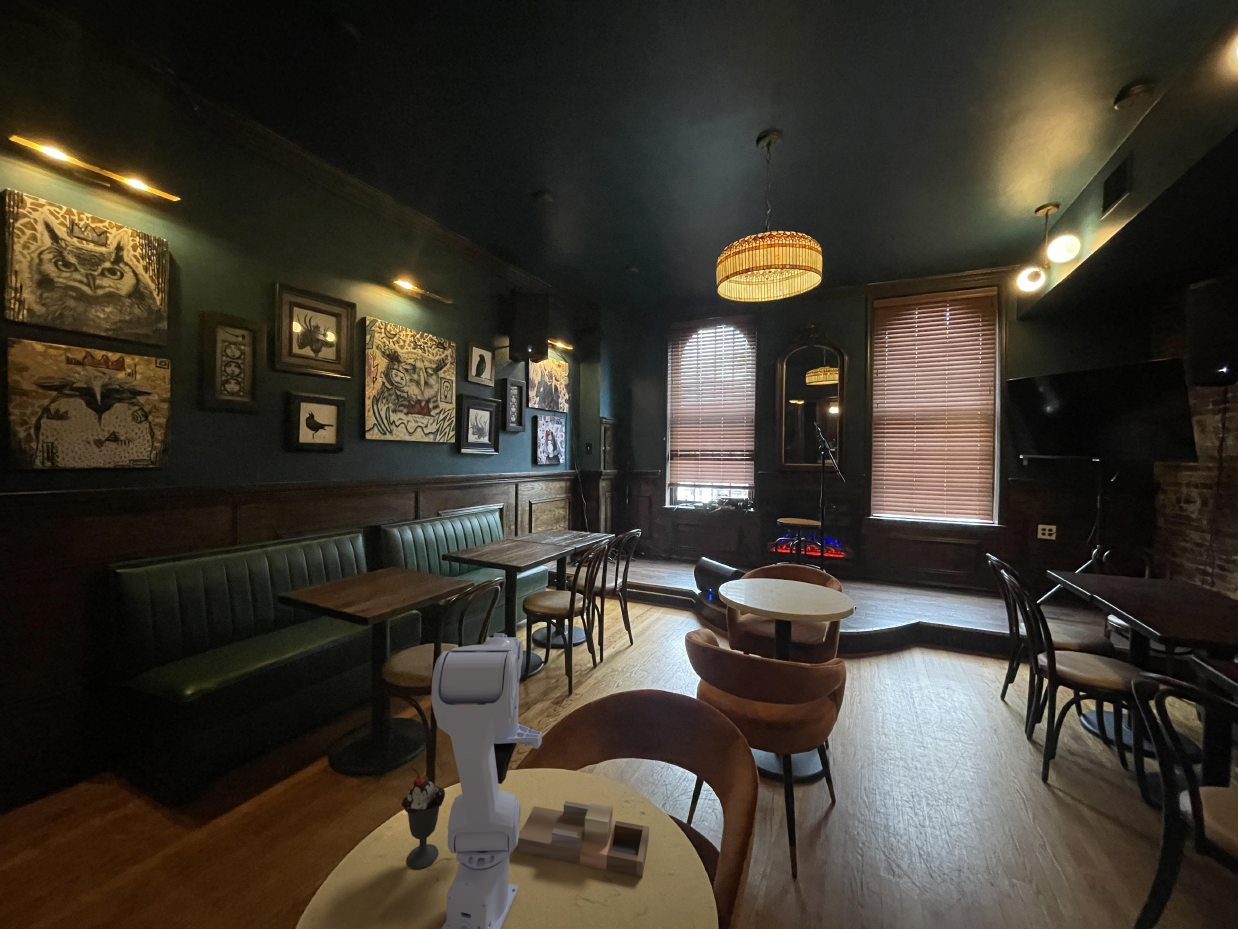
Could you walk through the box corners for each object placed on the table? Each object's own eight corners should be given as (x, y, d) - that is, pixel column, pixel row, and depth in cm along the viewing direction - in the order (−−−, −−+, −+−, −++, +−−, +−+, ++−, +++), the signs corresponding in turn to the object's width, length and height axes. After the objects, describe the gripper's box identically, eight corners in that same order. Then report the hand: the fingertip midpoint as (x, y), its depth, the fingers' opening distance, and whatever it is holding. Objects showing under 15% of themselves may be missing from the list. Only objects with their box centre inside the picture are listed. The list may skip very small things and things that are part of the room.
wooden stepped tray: (642, 877, 79) (643, 850, 79) (517, 852, 83) (518, 826, 83) (648, 840, 87) (649, 815, 86) (533, 819, 91) (534, 795, 90)
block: (607, 845, 82) (608, 822, 82) (584, 841, 83) (585, 818, 83) (612, 827, 86) (612, 805, 86) (590, 823, 87) (590, 801, 87)
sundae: (400, 848, 83) (401, 762, 83) (441, 836, 86) (443, 752, 86) (400, 879, 77) (402, 787, 77) (445, 865, 80) (447, 776, 80)
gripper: (548, 699, 89) (546, 771, 90) (475, 689, 92) (473, 759, 93) (534, 719, 83) (532, 798, 83) (455, 708, 85) (454, 784, 86)
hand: (500, 779), depth 87 cm, fingers closed
